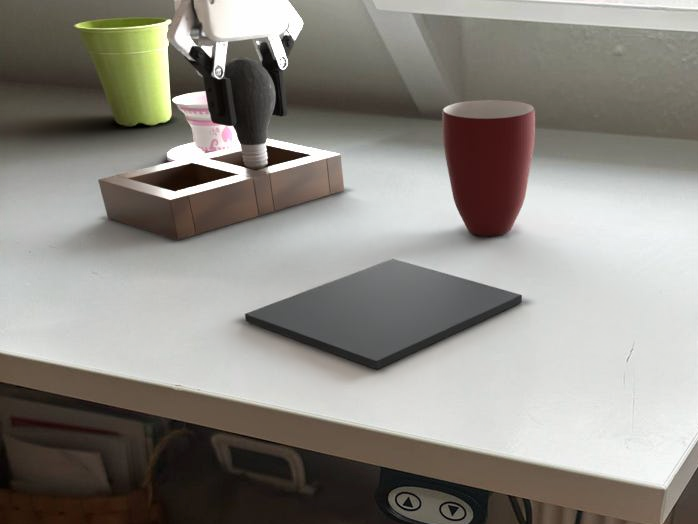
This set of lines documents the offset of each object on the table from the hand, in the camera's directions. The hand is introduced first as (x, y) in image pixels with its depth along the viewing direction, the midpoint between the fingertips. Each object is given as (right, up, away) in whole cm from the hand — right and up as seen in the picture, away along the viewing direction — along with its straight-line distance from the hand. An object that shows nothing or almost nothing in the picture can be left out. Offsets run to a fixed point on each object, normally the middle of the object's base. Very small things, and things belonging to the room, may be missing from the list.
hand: (249, 117), depth 93 cm
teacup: (-8, +5, +17) cm, 20 cm away
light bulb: (0, -4, +3) cm, 5 cm away
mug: (+23, -13, -5) cm, 27 cm away
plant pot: (-22, +18, +33) cm, 43 cm away
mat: (+16, -27, -21) cm, 37 cm away
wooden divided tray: (-2, -8, +2) cm, 8 cm away
